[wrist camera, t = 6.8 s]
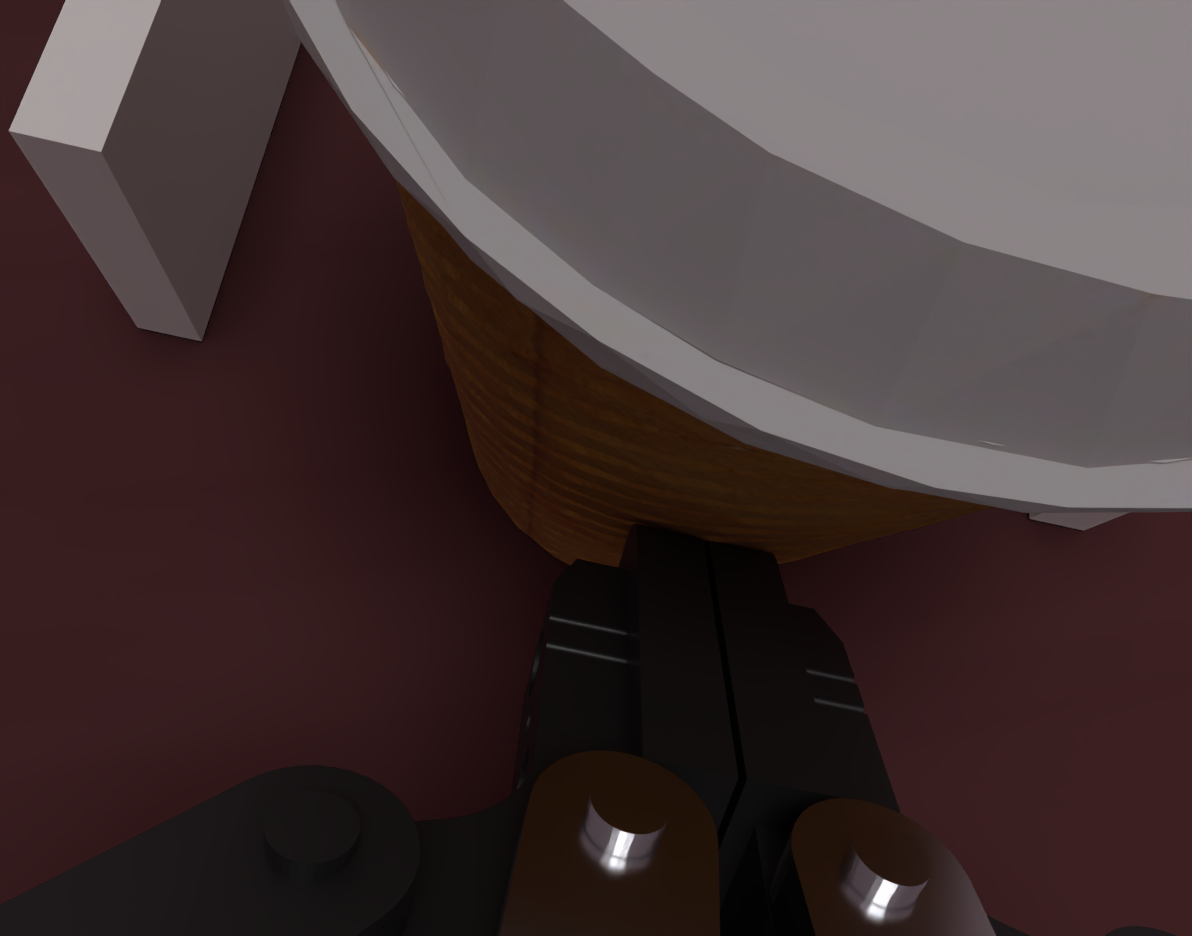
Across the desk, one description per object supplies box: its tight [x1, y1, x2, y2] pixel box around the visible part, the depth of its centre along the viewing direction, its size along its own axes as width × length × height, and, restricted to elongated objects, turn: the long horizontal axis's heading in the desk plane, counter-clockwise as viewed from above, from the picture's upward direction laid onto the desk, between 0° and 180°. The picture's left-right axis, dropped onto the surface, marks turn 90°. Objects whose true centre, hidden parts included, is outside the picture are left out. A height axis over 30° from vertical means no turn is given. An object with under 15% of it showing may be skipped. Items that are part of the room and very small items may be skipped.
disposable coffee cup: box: [283, 0, 1192, 567], centre depth 11 cm, size 10×10×12 cm
